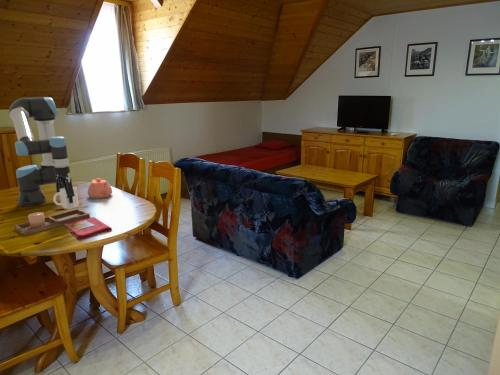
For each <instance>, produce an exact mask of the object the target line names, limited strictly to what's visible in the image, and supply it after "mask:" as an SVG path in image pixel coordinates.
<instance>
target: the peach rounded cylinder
mask: <svg viewBox="0 0 500 375" xmlns="http://www.w3.org/2000/svg"><path fill="white" fill-rule="evenodd" d="M44 217H45V213H44V212H43V211H38V212H32V213H29V214H28V216H27V218H28V222H29V223H30V229H34V228H37V227H41V226H44V225H46V223H45V218H44Z"/></svg>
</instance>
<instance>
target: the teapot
mask: <svg viewBox="0 0 500 375" xmlns="http://www.w3.org/2000/svg"><path fill="white" fill-rule="evenodd" d="M112 193H113V188H112V186H111V185H110V183H109V182H108V181H107V180H105V179H102V178H100V177H99V178H96V179H94V178H93V179H91V182H90V183H89V186H88V188H87V195H88V197H90V199H97V200H98V199H103V198H104V199H105V198H109V197H110V196H111V195H112Z"/></svg>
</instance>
